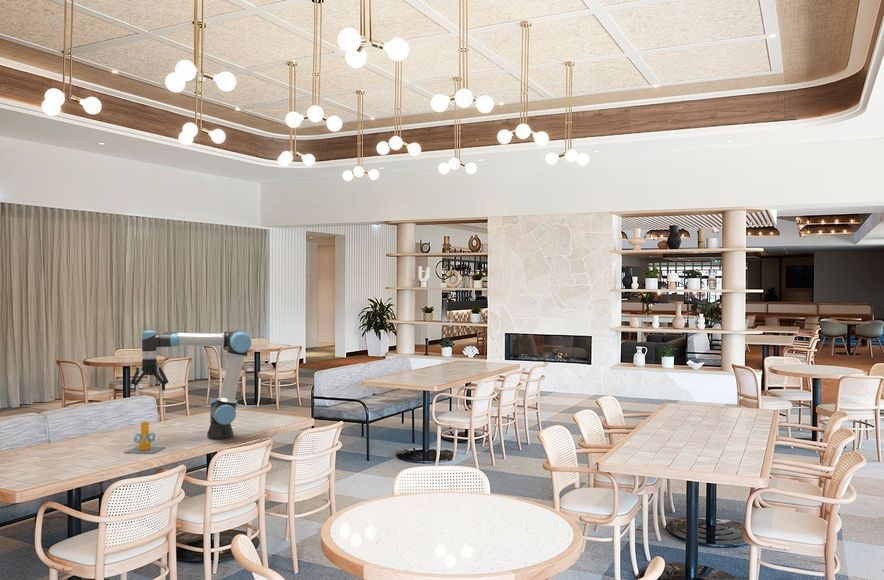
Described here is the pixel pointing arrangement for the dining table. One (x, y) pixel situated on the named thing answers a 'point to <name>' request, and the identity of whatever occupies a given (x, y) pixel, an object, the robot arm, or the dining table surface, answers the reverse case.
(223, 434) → the robot arm
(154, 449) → the card
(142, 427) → the orange hollow ringed part
